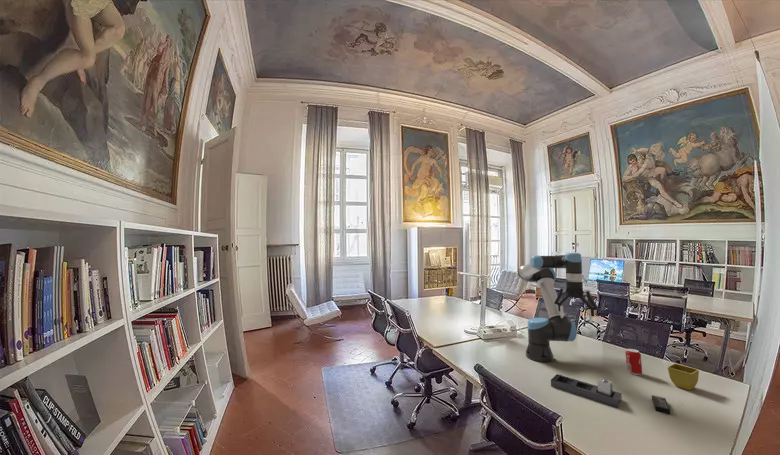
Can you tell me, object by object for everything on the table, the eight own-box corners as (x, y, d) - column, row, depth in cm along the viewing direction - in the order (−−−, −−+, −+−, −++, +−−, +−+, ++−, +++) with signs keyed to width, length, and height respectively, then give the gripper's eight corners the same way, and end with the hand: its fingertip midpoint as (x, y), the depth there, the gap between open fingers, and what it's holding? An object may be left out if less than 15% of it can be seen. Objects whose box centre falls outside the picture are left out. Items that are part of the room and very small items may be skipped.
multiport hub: (655, 412, 116) (655, 406, 117) (651, 400, 125) (651, 394, 125) (670, 415, 114) (670, 409, 114) (665, 403, 123) (665, 398, 123)
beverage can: (645, 376, 147) (643, 352, 148) (631, 375, 148) (629, 352, 149) (637, 371, 153) (635, 348, 154) (624, 370, 154) (622, 347, 155)
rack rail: (551, 386, 138) (550, 379, 138) (557, 380, 144) (556, 374, 144) (618, 408, 119) (617, 400, 119) (621, 399, 125) (621, 392, 125)
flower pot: (693, 393, 129) (692, 373, 130) (668, 385, 137) (667, 366, 138) (700, 389, 133) (699, 369, 134) (675, 381, 141) (674, 363, 142)
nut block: (598, 399, 126) (597, 380, 126) (601, 395, 129) (600, 377, 129) (610, 403, 122) (609, 384, 123) (613, 399, 125) (612, 380, 126)
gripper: (547, 279, 162) (548, 316, 161) (600, 284, 143) (602, 326, 142) (551, 278, 167) (553, 314, 166) (603, 282, 148) (605, 322, 147)
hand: (576, 319), depth 154 cm, fingers open, 13 cm apart
